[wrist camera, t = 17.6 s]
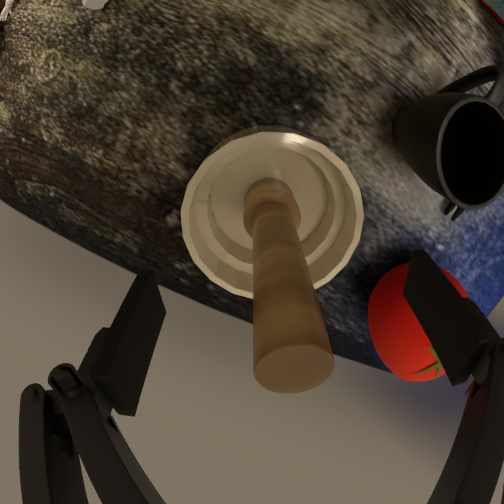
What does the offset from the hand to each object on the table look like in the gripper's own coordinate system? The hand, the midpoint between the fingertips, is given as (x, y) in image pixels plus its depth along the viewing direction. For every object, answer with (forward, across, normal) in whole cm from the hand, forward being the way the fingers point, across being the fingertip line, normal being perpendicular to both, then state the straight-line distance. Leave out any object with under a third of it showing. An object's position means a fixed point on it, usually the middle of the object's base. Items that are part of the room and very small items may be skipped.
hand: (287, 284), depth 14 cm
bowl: (+13, 0, 0) cm, 13 cm away
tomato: (+14, +14, -11) cm, 22 cm away
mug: (+14, +15, +7) cm, 22 cm away
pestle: (+13, 0, -1) cm, 13 cm away
